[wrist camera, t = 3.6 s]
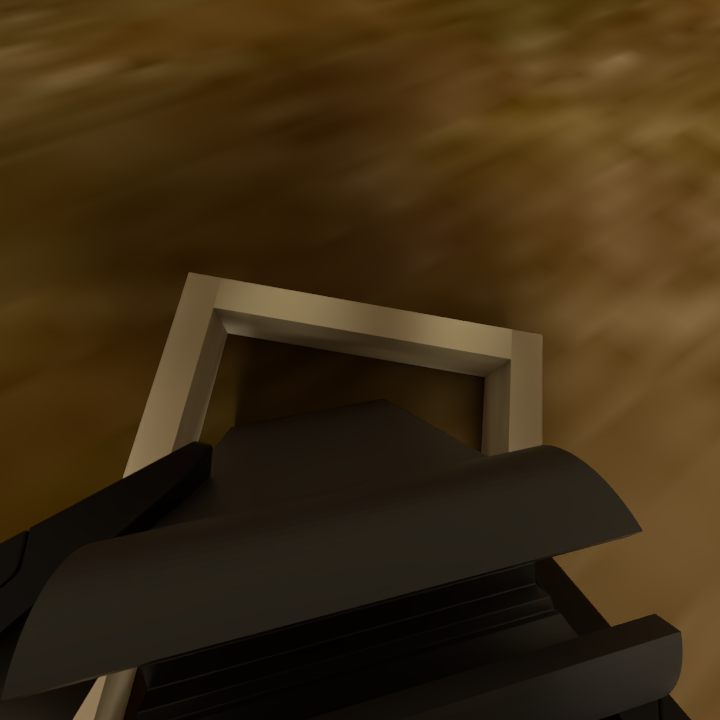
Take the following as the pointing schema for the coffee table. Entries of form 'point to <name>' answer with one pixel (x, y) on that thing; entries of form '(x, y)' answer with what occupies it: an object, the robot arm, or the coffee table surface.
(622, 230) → the coffee table surface
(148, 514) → the robot arm
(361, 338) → the birch pocket
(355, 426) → the phone stand
